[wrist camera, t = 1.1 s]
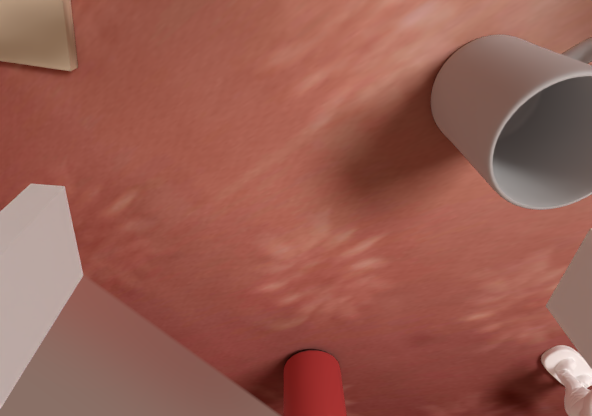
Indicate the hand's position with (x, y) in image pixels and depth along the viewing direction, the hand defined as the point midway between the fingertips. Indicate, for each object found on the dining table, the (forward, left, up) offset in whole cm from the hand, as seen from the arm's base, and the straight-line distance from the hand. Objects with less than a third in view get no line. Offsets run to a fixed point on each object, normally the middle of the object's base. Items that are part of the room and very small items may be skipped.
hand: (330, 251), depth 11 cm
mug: (-1, +16, -24) cm, 29 cm away
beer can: (+34, +7, -24) cm, 42 cm away
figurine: (+30, +38, -24) cm, 54 cm away
